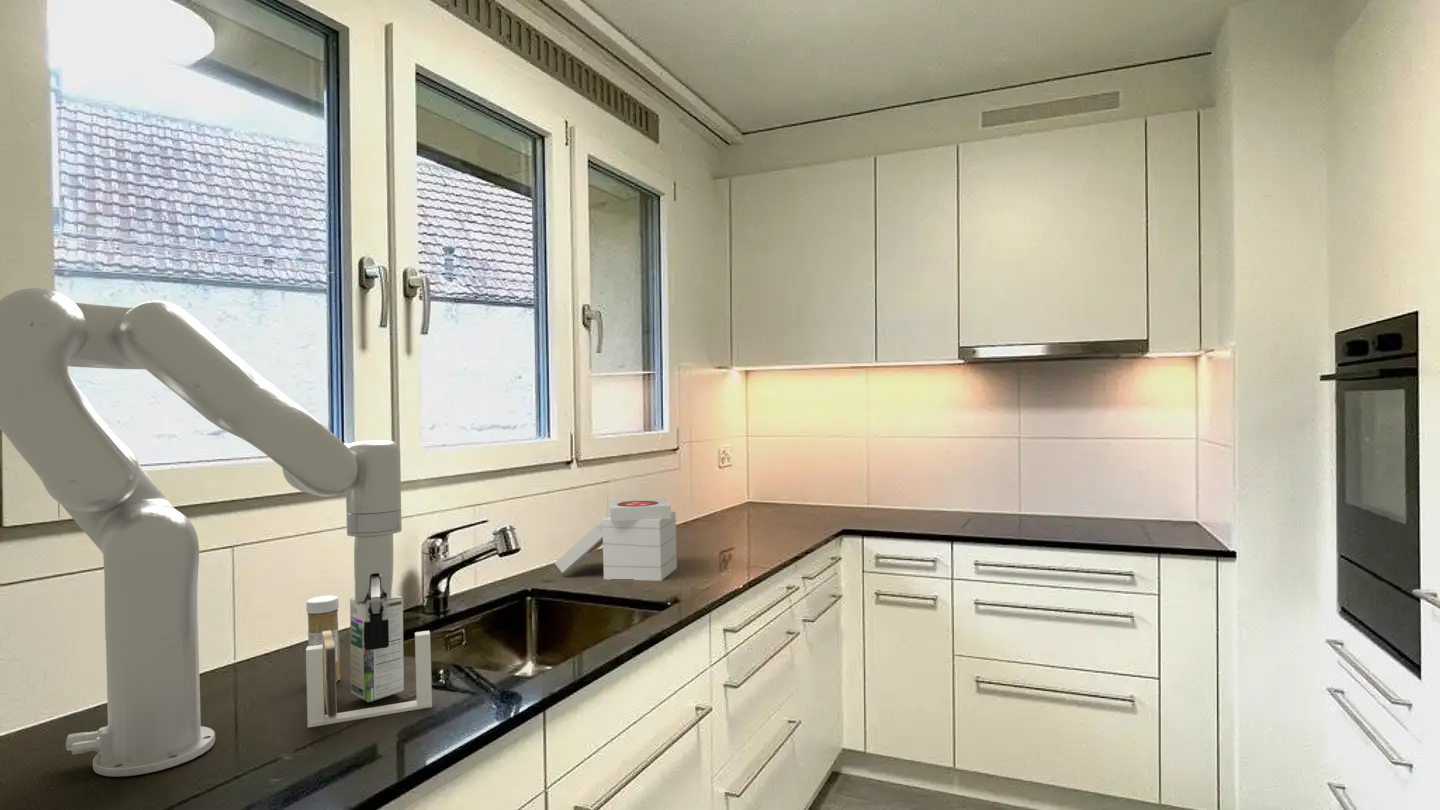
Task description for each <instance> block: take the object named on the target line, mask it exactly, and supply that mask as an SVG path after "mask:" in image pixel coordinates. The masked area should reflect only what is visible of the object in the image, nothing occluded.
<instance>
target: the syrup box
mask: <svg viewBox="0 0 1440 810" xmlns="http://www.w3.org/2000/svg"><path fill="white" fill-rule="evenodd" d="M381 598H383V597H380V599H381ZM368 600H371V598H369V595H368ZM365 602H366V598H365V600H364V602H360V605H357V604H356V603H355V596H353V597H350V599H349V619H350V620H349V623H350V624H349V625H350V626H349V627H350V628H349V632H350V636H349V638H350V641H349V642H350V645H349V646H350V648H349V650H350V653H349V654H350V656H349V657H350V658H349V659H350V694H351V695H355V696H356V697H358V698H360V699H362V700H364V701H365V702H366V703H370V702H374V701H377V700H379V699H382V698H386V697H389V696H391V695H395V694H398V693H401V692H403V691H404V690H405V683H404V682H405V681H404V680H405V679H404V674H405V673H404V670H405V669H404V608H403V607H404V606H403V603H404V601H403V596H400V595H399V596H398V595H395V594H393V593H391V599H390V600H389V601H388V602H387V599H386V619H388V626H389V646H388V647H387V648H380V649H372V650H366V649H365V639H364V622H366V605H365ZM382 616H383V612H382ZM382 620H383V618H382Z"/></svg>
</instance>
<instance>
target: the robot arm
mask: <svg viewBox="0 0 1440 810" xmlns="http://www.w3.org/2000/svg"><path fill="white" fill-rule="evenodd" d="M70 367H71V368H72V367H73V368H91V369H110V370H111V369H112V370H113V369H114V370H145V371H147V372H148V373H150V374H151V375H152V376H153V377H155V378H156V379H157V380H158V381H159V382H161V383H162V384H163V385H165V386H166V387H167V388H168V389H170V390H171V391H172V392H173V393H174V394H176V395H177V396H178V397H180V398H181V399H182V400H183V401H185V402H186V403H187V404H188V405H189V406H190V407H191V408H193V409H194V410H196V411H197V412H198V413H199V414H200V415H201V416H203V418H205V419H206V420H207V421H209V422H211V423H212V424H214V425H215V426H216V427H218V428H219V429H222V430H223V431H224V432H227V433H229V434H231V435H233V436H236V437H238V438H239V439H242V440H243V441H245V442H247V443H248V444H250V445H252V446H253V447H255V449H257V450H259V451H260V452H261V453H263V454H264V455H266V457H269V459H271V460H272V461H273V462H275V463H276V464H277V465H278V466H280V467H281V468H282V473H283V476H284V478H285V481H286V482H287V483H288V484H289V485H290V486H291V487H292V488H294V489H296V490H297V491H300V492H303V493H307V494H311V495H315V496H318V497H326V498H327V497H334V496H338V495H340V494H343V493H345V500H346V501H345V502H346V503H345V505H346V509H345V510H346V536H349V537H354V547H353V549H354V550H353V569H354V573H353V574H354V576H353V578H354V597H355V603H356V604H357V605H360V602H364V600H365V598H366V602H365V605H366V622H364V639H365V649H366V650H372V649H380V648H387V647H388V646H389V626H388V619H386V599H387V602H388V601H389V600H390V599H391V594H392V593H393V582H394V579H393V577H394V534H398V533H400V532H402V483H401V480H402V479H401V478H402V477H401V452H400V451H401V449H400V447H399V445H398V443H396V442H395V441H393V440H389V439H388V440H383V439H382V440H381V439H380V440H378V439H377V440H359V441H354V442H351V443H347V442H345V443H344V442H343V441H342V440H341V439H339V438H338V437H337V436H336V435H335V434H334V433H333V432H331V431H330V430H329V429H328V428H327V427H326V426H325V425H323V423H322V422H320V421H319V420H318V419H317V418H315V416H313V415H311V414H310V413H309V412H308V411H307V410H305V408H303V407H301V406H300V405H299V404H298V403H296V402H295V401H294V400H292V399H291V398H289V397H288V396H287V395H286V394H284V393H283V392H282V391H281V390H280V389H278V388H277V387H276V386H275V385H274V384H273V383H271V382H269V381H268V380H267V379H265V378H264V377H262V376H261V375H260V374H259V373H258V372H257V371H255V369H253V368H252V367H251V366H250V365H248V364H247V362H246V361H244V360H243V359H241V358H240V357H239V356H238V355H237V354H236V353H235V352H233V351H232V350H231V349H230V348H229V347H228V346H227V345H226V344H225V343H223V342H222V341H221V340H220V339H219V338H217V337H216V336H215V335H214V334H213V333H212V332H211V331H210V330H209V329H207V327H205V326H204V325H202V324H201V323H200V322H199V321H198V320H197V319H196V318H195V317H194V316H192V315H191V314H189V313H188V312H187V311H186V310H185V309H183V308H182V307H180V306H178V305H176V304H174V303H172V302H168V301H163V300H151V301H147V302H143V303H139V304H137V305H135V306H120V305H119V306H116V305H104V304H103V305H102V304H93V303H92V304H91V303H83V302H75V301H73V300H71V299H70V297H67V296H66V295H63V294H62V293H60V292H57V291H55V290H51V289H48V288H39V287H30V288H28V287H27V288H22V289H19V290H16V291H15V290H14V291H13V292H10V293H8V294H6V295H5V296H3V297H1V298H0V430H1V432H2V433H3V434H4V435H5V437H6V438H7V439H8V440H9V441H10V443H11V444H12V445H13V447H14V449H16V451H17V452H18V453H19V455H21V457H22V458H23V459H24V460H25V462H26V463H27V464H28V465H29V466H30V468H31V469H32V470H33V471H34V473H35V474H36V475H37V476H38V478H39V479H40V480H41V482H42V484H43V487H44V488H45V490H46V491H47V493H48V495H49V496H50V497H51V498H52V499H54V500H55V501H56V502H58V503H59V504H60V505H61V506H62V508H63V509H64V510H65V512H67V513H68V515H70V517H71V518H72V519H73V520H74V521H75V523H76V524H77V525H78V527H80V528H81V530H82V531H83V532H84V533H85V534H86V536H87V537H88V538H89V539H90V540H91V542H93V544H94V545H96V547H97V548H98V549H99V551H100V552H101V553H102V556H103V571H104V572H103V574H104V575H103V576H104V581H103V582H104V627H105V628H104V631H105V633H104V636H105V638H104V639H105V654H106V655H105V658H106V659H105V660H106V663H105V664H106V694H107V695H106V697H107V701H106V702H107V725H105V726H101V727H100V728H99V729H98V730H95V731H84V732H77V733H76V732H75V733H69V734H68V735H67V737H66V742H65V749H66V751H71V755H74V756H75V755H78V754H86V753H88V752H89V753H90V752H93V751H94V752H95V753H97V754H96V755H95V756H94V757H93V759H92V770H93V772H94V773H96V774H98V775H100V776H105V777H115V778H116V777H117V778H118V777H119V778H120V777H132V776H133V777H134V776H139V775H145V774H146V775H147V774H150V773H155V772H160V771H162V770H167V769H170V768H174V767H176V766H180V765H182V764H184V763H187V762H189V761H192V760H194V759H196V758H197V757H199V756H201V755H204V754H205V753H207V752H208V751H209V750H211V748H212V747H213V746H214V745H215V742H216V732H215V730H214V729H212V728H210V727H207V726H204V725H203V726H202V725H201V723H202V722H201V718H202V717H201V686H200V654H199V653H200V650H199V649H200V648H199V647H200V646H199V623H198V621H199V620H198V619H199V617H198V616H199V614H198V611H199V609H198V582H199V581H198V580H199V578H198V577H199V565H200V563H199V561H200V545H199V539H198V534H197V532H196V529H195V527H194V525H193V523H192V522H191V520H190V519H189V518H188V517H187V516H186V514H185V515H184V513H182V512H180V511H179V510H177V509H176V508H175V507H174V506H173V504H172V503H171V502H170V501H169V500H168V498H167V497H166V496H165V494H164V493H163V492H162V491H161V489H160V488H159V487H158V486H157V484H156V483H155V482H154V481H153V480H152V478H151V477H150V476H149V474H147V472H146V471H145V470H144V468H143V467H142V466H141V465H140V463H139V461H138V458H137V455H136V454H135V453H134V452H133V450H132V449H131V448H130V447H129V446H128V445H127V444H125V443H124V442H123V441H122V440H120V438H119V437H117V435H116V434H115V432H113V431H112V429H110V427H109V426H108V424H106V423H105V421H104V420H103V419H102V418H101V416H100V415H99V414H98V412H97V411H96V410H95V409H94V408H93V406H92V404H91V403H90V402H89V400H88V399H87V397H86V396H85V395H84V394H83V392H82V390H81V389H79V386H77V384H76V383H75V381H74V380H73V378H72V375H71V373H70V370H69V368H70ZM368 595H369V598H371V600H368ZM380 597H383V598H381V599H380ZM382 612H383V616H382ZM382 618H383V620H382Z"/></svg>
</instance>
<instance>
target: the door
mask: <svg viewBox="0 0 1440 810" xmlns="http://www.w3.org/2000/svg"><path fill="white" fill-rule="evenodd" d="M322 644H323V660H324V699H325V710H326V713H327V714H326V715H329V716H334V715H336V713H338V703H337V682H336V655H335V644H334V640H333V636H332V633H331V630H329V631H322Z"/></svg>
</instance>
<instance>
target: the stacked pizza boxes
mask: <svg viewBox="0 0 1440 810" xmlns="http://www.w3.org/2000/svg"><path fill="white" fill-rule="evenodd" d="M676 513H677V512H676V511H672V505H671V504H670V502H669V501H668V500H667V498H648V499H647V498H646V499H626V500H623V499H622V500H609V515H610V516H608V517H606V518H603V519H601V521H602V522H601V523H599V524H597V525H595V526H594V527H593V528H592V529H590V530H589V531H588V532H587V533H586V534H585V535H584V536H582V538H580V539H579V541H577V542H576V543H575V544H574V545H573V546H572V547H571V548H569V549H568V550H567V551H566V552H565V553H564V554H562V555H561V557H559V558H557V560H556V561H554V564H555V566H556V567H557V569H559V571H560V572H561V573H564V572H567V571H568V570H570V569H572V568H574V567H576V566H577V565H579V564H581V563H583V562H585V561H586V560H587V559H588V558H589V557H591V555H592V554H594V553H595V552H596V551H597V550H598V549H600V548H601V546H602V556H603V557H602V562H603V563H602V564H603V580H611V579H634V580H633V581H658V582H659V581H663V580H665V578H667V577H668V576H669V575H671V573H673V572H674V571H676V569H677V568H678V560H677V559H678V557H677V556H678V555H677V521H676V519H677V517H676V515H677V514H676Z"/></svg>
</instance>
